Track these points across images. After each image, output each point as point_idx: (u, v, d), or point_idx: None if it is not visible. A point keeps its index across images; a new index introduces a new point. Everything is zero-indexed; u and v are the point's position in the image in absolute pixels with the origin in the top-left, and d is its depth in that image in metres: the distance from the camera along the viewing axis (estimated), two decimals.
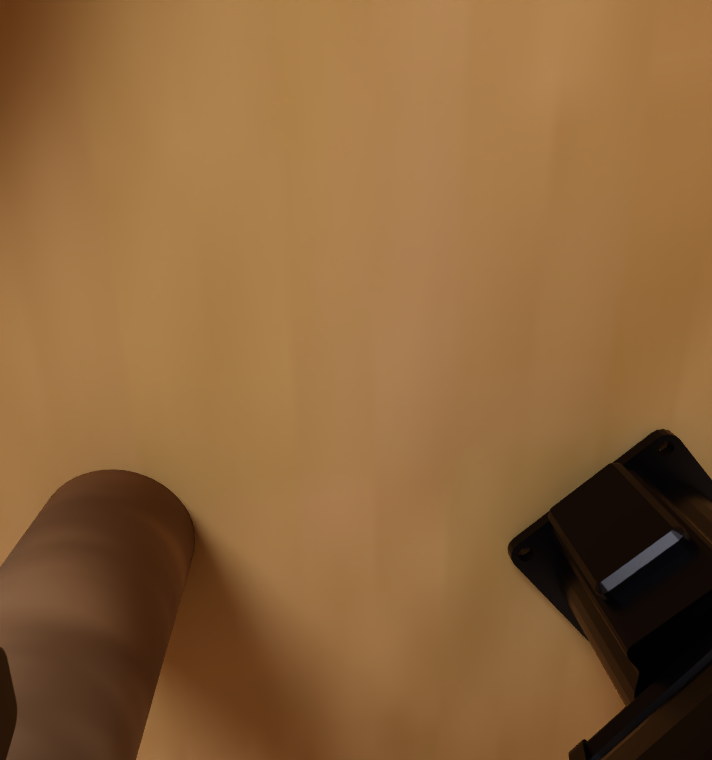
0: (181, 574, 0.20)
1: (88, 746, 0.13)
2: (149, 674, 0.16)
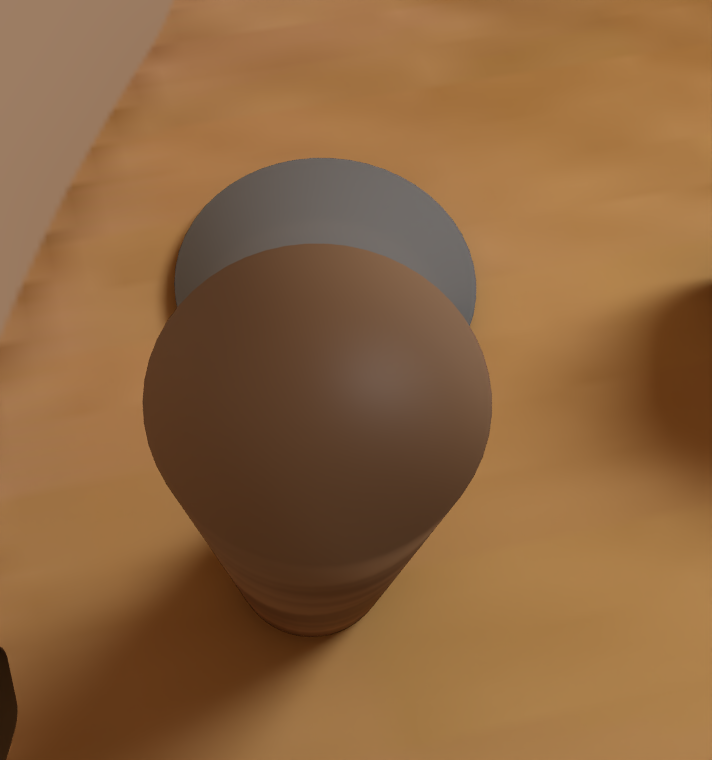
0: (332, 628, 0.18)
1: (407, 562, 0.12)
2: (346, 610, 0.15)
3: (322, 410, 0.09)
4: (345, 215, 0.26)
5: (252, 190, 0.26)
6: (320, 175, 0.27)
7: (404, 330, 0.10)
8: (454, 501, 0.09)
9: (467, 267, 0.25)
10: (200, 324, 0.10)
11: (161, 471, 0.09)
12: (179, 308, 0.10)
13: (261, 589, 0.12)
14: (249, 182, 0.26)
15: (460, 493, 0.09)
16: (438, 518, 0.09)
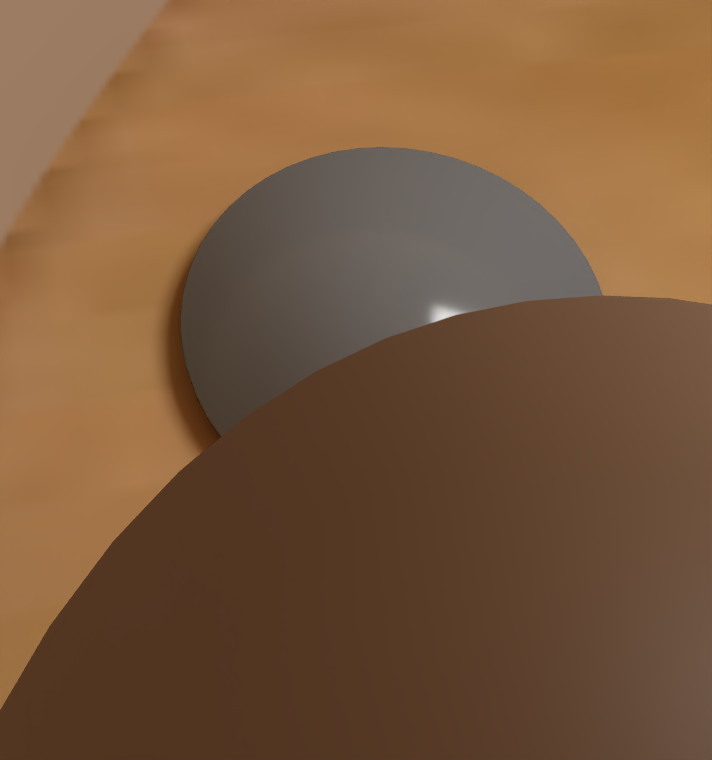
0: None
1: None
2: None
3: None
4: (424, 227, 0.19)
5: (296, 187, 0.19)
6: (391, 170, 0.19)
7: None
8: None
9: None
10: (198, 644, 0.02)
11: None
12: (117, 546, 0.02)
13: None
14: (292, 176, 0.19)
15: None
16: None
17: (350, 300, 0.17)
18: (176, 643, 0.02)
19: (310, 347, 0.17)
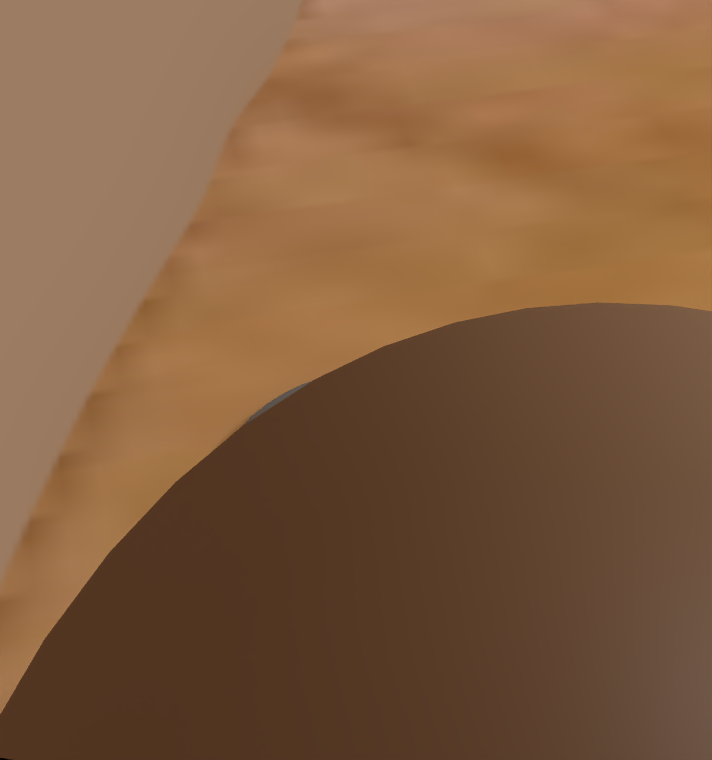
0: None
1: None
2: None
3: None
4: None
5: None
6: None
7: None
8: None
9: None
10: (195, 657, 0.02)
11: None
12: (115, 559, 0.02)
13: None
14: None
15: None
16: None
17: None
18: (173, 656, 0.02)
19: None
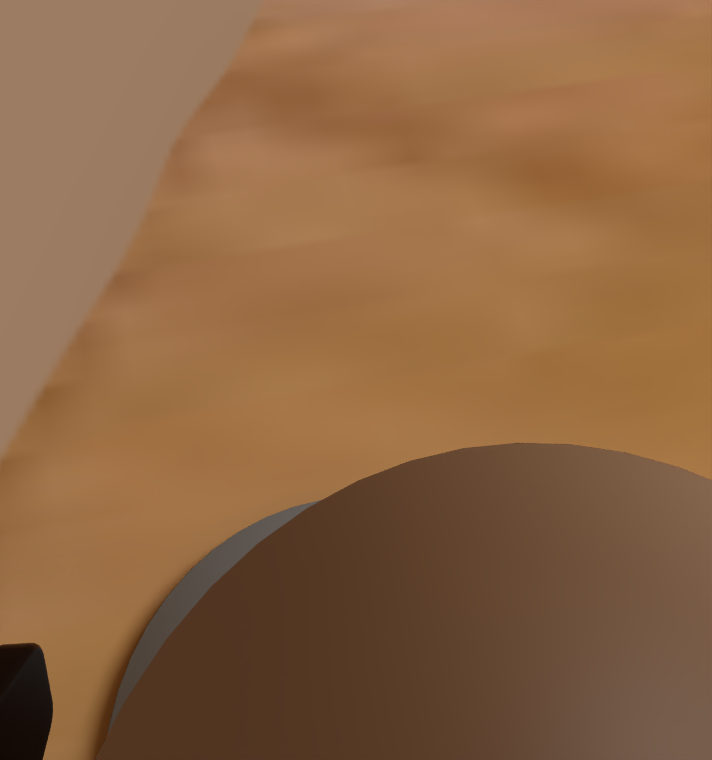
0: None
1: None
2: None
3: None
4: None
5: None
6: None
7: None
8: None
9: None
10: (225, 714, 0.03)
11: None
12: (168, 641, 0.03)
13: None
14: (244, 545, 0.16)
15: None
16: None
17: None
18: (210, 712, 0.03)
19: None
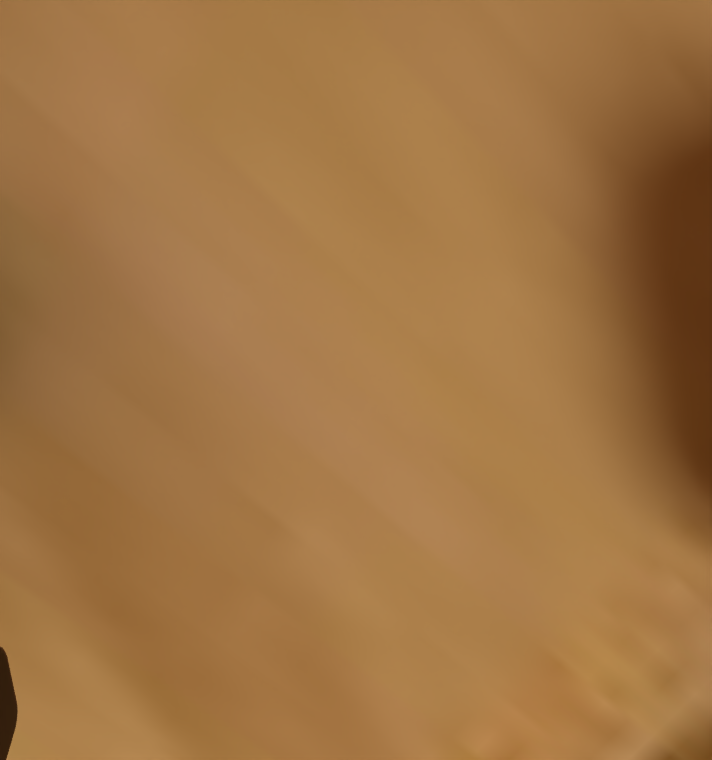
0: None
1: None
2: None
3: None
4: None
5: None
6: None
7: None
8: None
9: None
10: None
11: None
12: None
13: None
14: None
15: None
16: None
17: None
18: None
19: None
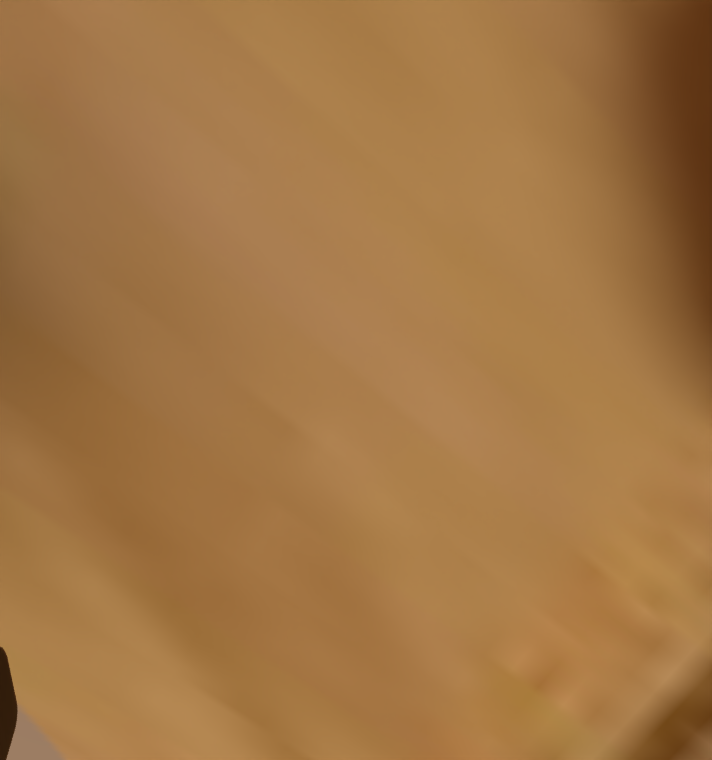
0: None
1: None
2: None
3: None
4: None
5: None
6: None
7: None
8: None
9: None
10: None
11: None
12: None
13: None
14: None
15: None
16: None
17: None
18: None
19: None
